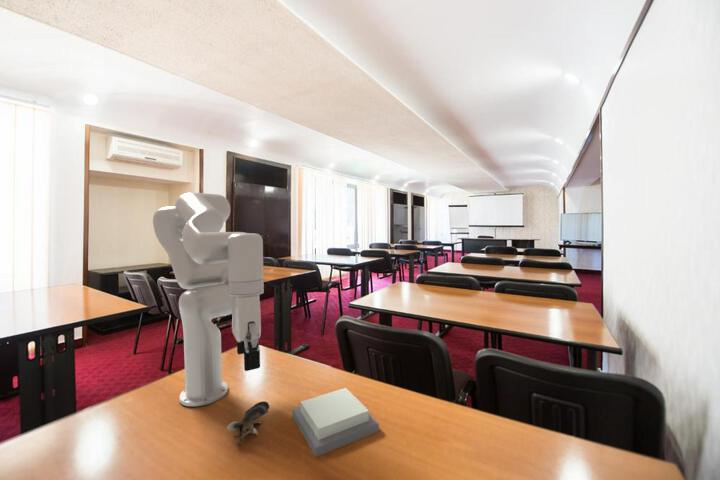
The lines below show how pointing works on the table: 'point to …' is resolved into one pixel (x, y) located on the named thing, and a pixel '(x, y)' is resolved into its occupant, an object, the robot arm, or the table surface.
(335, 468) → the table surface
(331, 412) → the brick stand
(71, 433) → the table surface
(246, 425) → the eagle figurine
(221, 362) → the robot arm
